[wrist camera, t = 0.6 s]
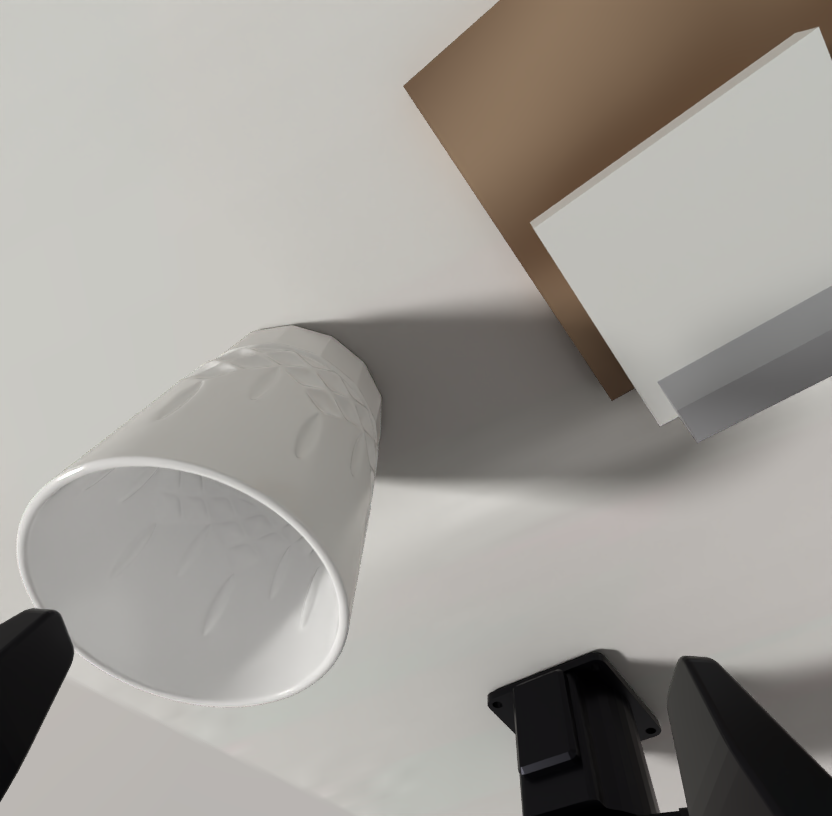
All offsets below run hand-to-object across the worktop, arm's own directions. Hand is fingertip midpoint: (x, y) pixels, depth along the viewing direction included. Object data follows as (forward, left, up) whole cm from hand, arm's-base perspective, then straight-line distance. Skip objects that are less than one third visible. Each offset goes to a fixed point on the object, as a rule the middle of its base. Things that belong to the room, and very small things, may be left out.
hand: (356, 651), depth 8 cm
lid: (-2, -9, -11) cm, 14 cm away
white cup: (0, +6, -14) cm, 15 cm away
